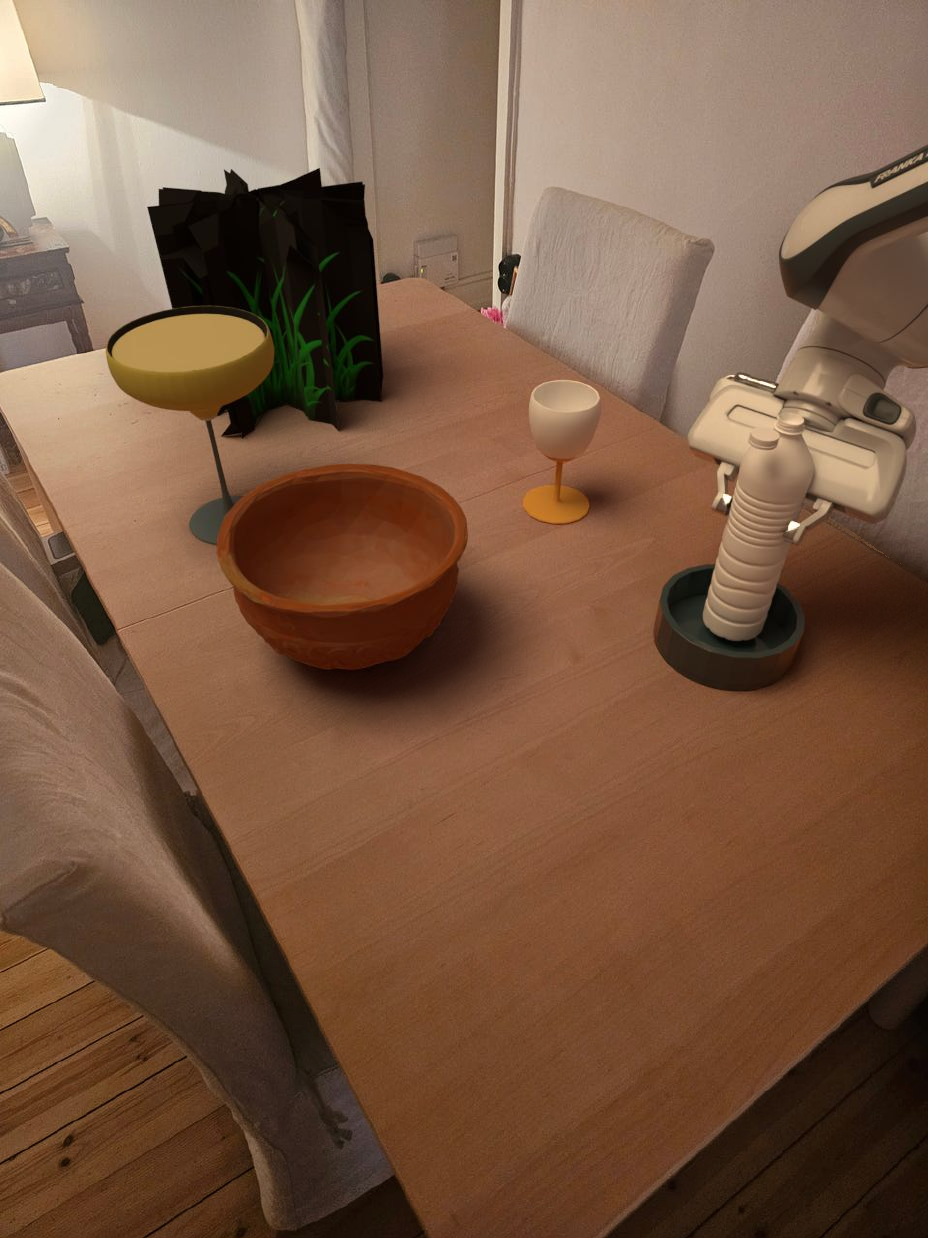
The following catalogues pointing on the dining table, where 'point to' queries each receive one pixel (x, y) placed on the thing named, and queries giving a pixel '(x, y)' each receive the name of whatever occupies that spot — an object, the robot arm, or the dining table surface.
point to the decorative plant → (282, 285)
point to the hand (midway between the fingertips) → (754, 527)
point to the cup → (561, 444)
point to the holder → (717, 657)
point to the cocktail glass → (193, 374)
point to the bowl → (344, 562)
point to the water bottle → (758, 528)
